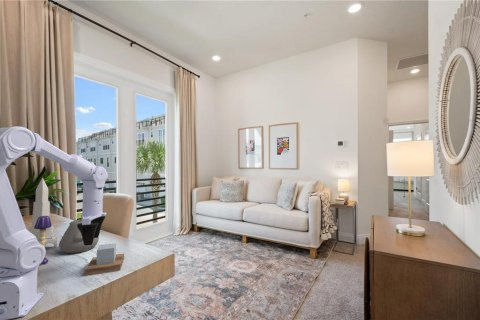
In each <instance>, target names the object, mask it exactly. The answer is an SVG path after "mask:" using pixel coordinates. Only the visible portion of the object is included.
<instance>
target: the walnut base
mask: <svg viewBox="0 0 480 320" xmlns="http://www.w3.org/2000/svg"><path fill="white" fill-rule="evenodd" d="M124 261H125V253H118V254H117V253H116V258H115V261H114V263H108V264H101V265H97V256H95V257H92V258H91V260H90V262H88V264H87V266H86V267H85V269H84V276H85V277H86V276H87V277H88V276H93V275H101V274H107V273H112V272H119V271H120V272H121V270H122V267H123V263H124Z"/></svg>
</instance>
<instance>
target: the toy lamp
mask: <svg viewBox="0 0 480 320" xmlns="http://www.w3.org/2000/svg"><path fill="white" fill-rule="evenodd" d="M51 226H53V225H52V222H51V216H50V217H49V216H40V217H38V219H37V221H36V224H35V227H34V229H40V233H39V236H40V237H39V243H40V244H41V245H43V246H44V247H45V246H46V245H44V244H45V237H46V235H47V233H46V231H47V229H51V228H50V227H51ZM46 228H47V229H46ZM48 263H49V258H47V257H46V256H45V257H44V259H43V261H42V262H41V263H40V264H39V266H42V265H45V264H48Z"/></svg>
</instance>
